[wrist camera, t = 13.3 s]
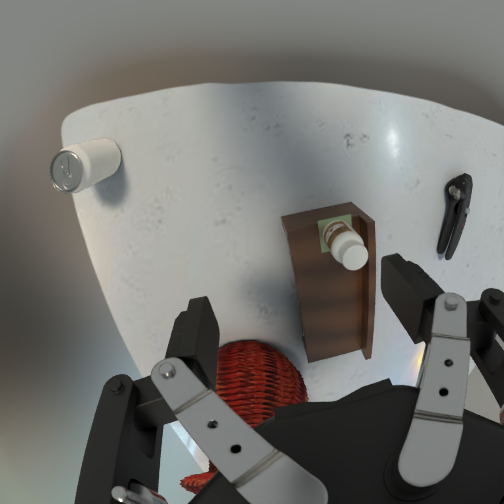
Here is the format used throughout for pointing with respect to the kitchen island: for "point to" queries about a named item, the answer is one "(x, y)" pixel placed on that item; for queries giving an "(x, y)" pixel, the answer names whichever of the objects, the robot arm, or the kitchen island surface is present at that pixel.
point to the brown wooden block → (332, 283)
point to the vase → (252, 389)
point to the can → (84, 165)
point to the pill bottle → (345, 244)
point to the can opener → (456, 213)
